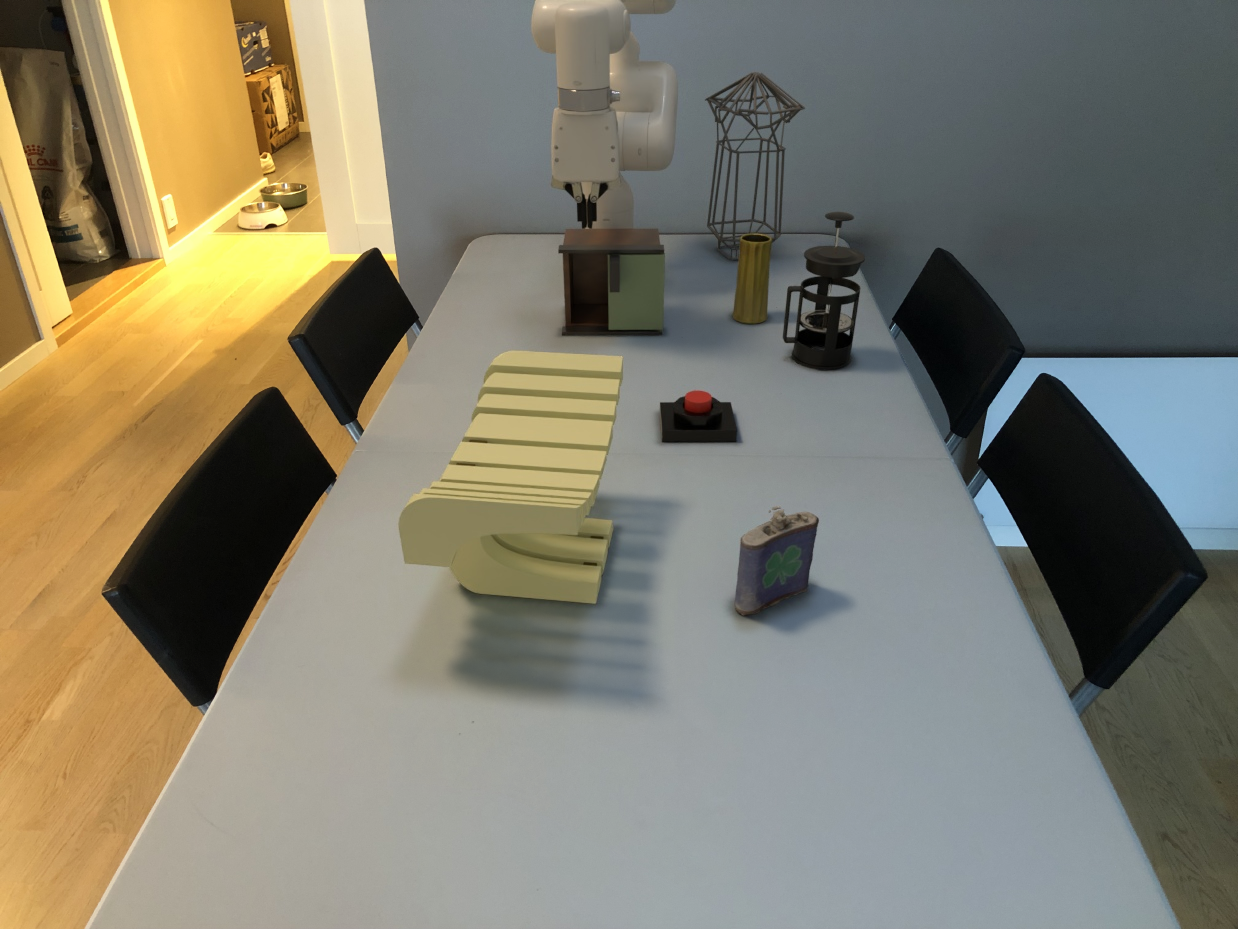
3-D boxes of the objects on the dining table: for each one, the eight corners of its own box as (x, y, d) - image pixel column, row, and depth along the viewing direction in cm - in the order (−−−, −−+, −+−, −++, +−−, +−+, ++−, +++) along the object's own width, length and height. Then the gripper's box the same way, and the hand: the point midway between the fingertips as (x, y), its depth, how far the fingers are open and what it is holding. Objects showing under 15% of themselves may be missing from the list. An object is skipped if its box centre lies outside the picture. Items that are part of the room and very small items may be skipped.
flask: (743, 619, 86) (752, 533, 81) (726, 603, 89) (733, 517, 83) (814, 589, 90) (827, 504, 85) (795, 573, 93) (806, 490, 87)
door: (608, 338, 143) (607, 262, 136) (608, 328, 147) (607, 253, 140) (664, 338, 143) (665, 262, 136) (662, 327, 147) (664, 252, 140)
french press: (847, 345, 142) (868, 204, 130) (862, 370, 134) (885, 222, 122) (776, 345, 142) (790, 205, 130) (786, 370, 134) (802, 223, 122)
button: (685, 414, 116) (685, 402, 115) (683, 401, 119) (684, 390, 118) (712, 414, 116) (712, 402, 115) (709, 401, 119) (710, 390, 118)
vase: (769, 324, 150) (776, 243, 142) (733, 324, 150) (739, 243, 142) (764, 311, 155) (771, 232, 147) (730, 310, 155) (735, 232, 148)
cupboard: (561, 335, 146) (558, 249, 138) (565, 307, 157) (562, 226, 149) (662, 335, 146) (664, 249, 138) (659, 307, 157) (661, 225, 149)
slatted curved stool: (497, 479, 109) (485, 348, 99) (623, 488, 107) (622, 356, 97) (419, 647, 83) (392, 494, 74) (582, 663, 82) (576, 508, 72)
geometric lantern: (695, 244, 187) (703, 68, 169) (763, 238, 190) (778, 65, 172) (719, 268, 174) (731, 80, 156) (792, 261, 177) (812, 76, 159)
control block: (661, 442, 116) (662, 419, 114) (659, 413, 123) (660, 391, 121) (736, 442, 116) (738, 419, 114) (730, 413, 123) (731, 391, 121)
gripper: (635, 94, 128) (635, 218, 138) (534, 95, 128) (541, 218, 138) (636, 104, 121) (635, 233, 131) (529, 104, 121) (537, 233, 131)
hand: (587, 225), depth 134 cm, fingers closed
